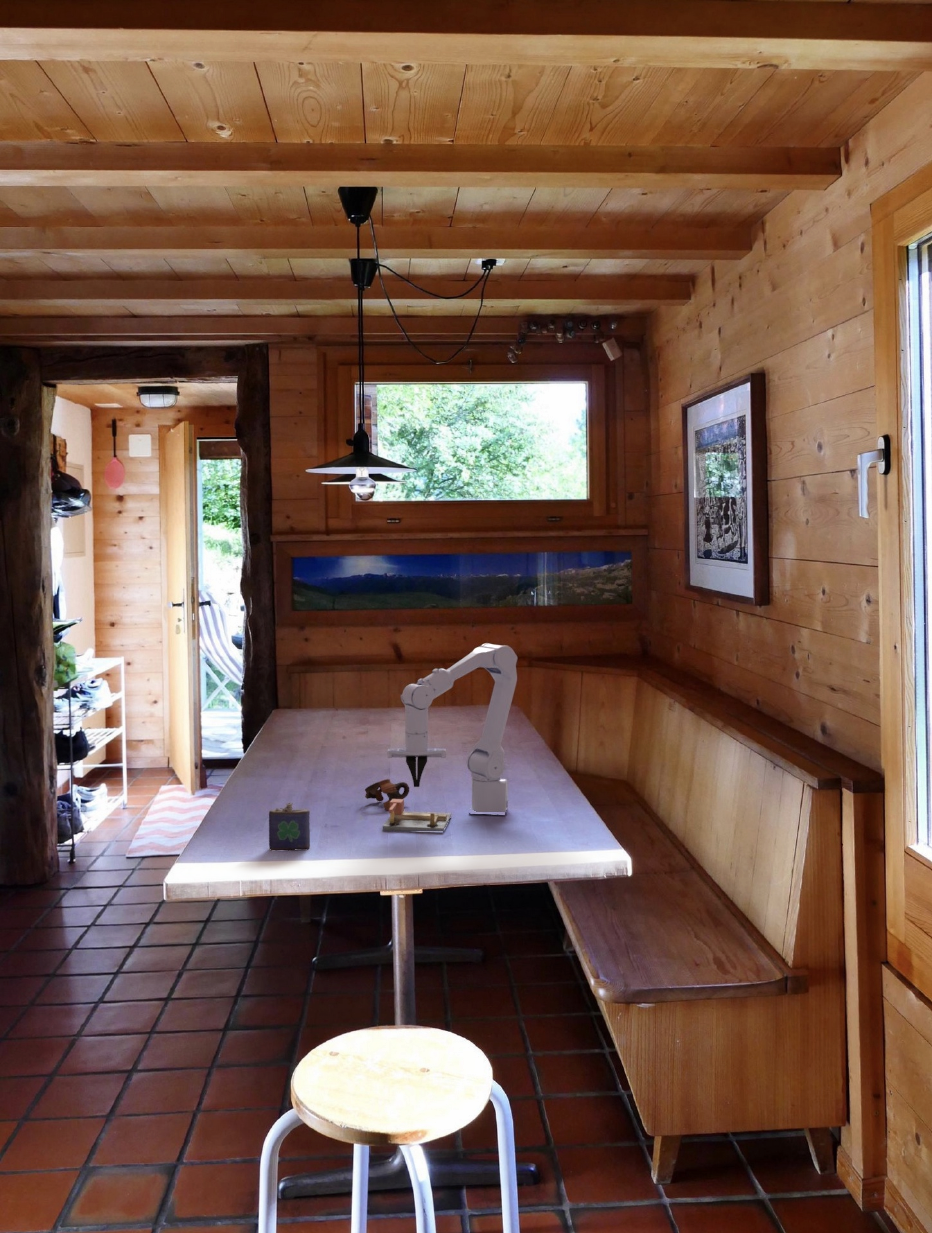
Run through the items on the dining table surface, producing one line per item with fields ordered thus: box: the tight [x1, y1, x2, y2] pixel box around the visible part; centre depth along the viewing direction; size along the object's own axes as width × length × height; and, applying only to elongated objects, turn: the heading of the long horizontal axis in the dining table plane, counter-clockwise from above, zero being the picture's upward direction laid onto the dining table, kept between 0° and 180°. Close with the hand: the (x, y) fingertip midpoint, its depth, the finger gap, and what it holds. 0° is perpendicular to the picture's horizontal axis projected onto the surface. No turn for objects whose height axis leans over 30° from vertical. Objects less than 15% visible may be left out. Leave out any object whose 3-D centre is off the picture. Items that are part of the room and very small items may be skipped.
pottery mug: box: [364, 778, 410, 811], centre depth 255 cm, size 12×10×8 cm
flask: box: [268, 802, 311, 851], centre depth 216 cm, size 9×3×11 cm, turn 95°
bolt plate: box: [382, 810, 453, 832], centre depth 237 cm, size 15×14×1 cm
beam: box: [394, 812, 447, 826], centre depth 235 cm, size 14×7×3 cm, turn 83°
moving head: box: [388, 798, 405, 823], centre depth 235 cm, size 3×9×4 cm, turn 173°
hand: (416, 786), depth 237 cm, fingers closed
